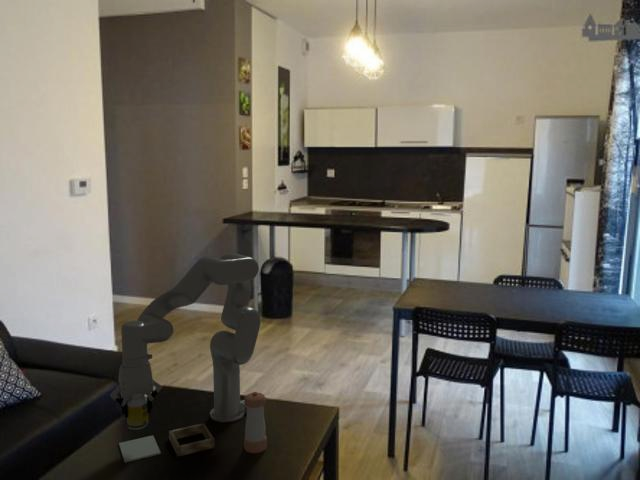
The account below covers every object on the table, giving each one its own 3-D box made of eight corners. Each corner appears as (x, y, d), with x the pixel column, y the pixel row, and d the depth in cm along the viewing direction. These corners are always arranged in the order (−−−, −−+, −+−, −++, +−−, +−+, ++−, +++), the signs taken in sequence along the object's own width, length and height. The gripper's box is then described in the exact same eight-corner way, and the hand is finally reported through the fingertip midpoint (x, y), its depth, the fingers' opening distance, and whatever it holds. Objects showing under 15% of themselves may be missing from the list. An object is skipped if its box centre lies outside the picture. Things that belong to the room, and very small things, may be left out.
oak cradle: (204, 431, 190) (204, 423, 190) (214, 447, 180) (214, 439, 179) (169, 439, 185) (168, 430, 184) (177, 456, 174) (177, 447, 174)
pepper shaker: (248, 455, 175) (248, 398, 172) (241, 444, 181) (240, 390, 178) (270, 449, 178) (269, 394, 175) (261, 439, 185) (261, 385, 182)
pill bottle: (141, 431, 173) (140, 396, 171) (123, 429, 174) (121, 394, 172) (152, 421, 179) (150, 388, 177) (134, 419, 180) (132, 386, 179)
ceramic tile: (153, 437, 186) (153, 435, 186) (160, 454, 175) (160, 452, 175) (119, 444, 181) (118, 443, 181) (124, 462, 170) (124, 461, 170)
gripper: (160, 352, 181) (162, 403, 183) (104, 360, 173) (107, 414, 175) (165, 359, 174) (167, 412, 177) (107, 369, 166) (110, 424, 169)
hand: (137, 413), depth 176 cm, fingers closed on pill bottle, 6 cm apart
